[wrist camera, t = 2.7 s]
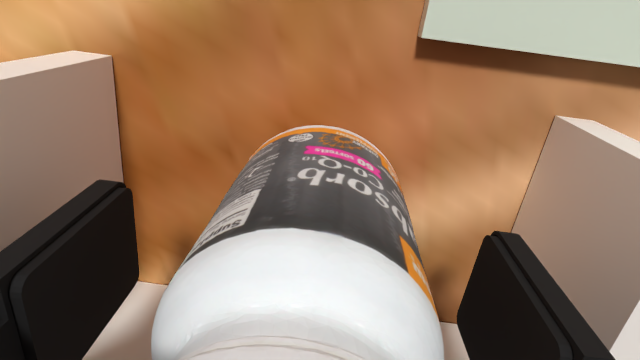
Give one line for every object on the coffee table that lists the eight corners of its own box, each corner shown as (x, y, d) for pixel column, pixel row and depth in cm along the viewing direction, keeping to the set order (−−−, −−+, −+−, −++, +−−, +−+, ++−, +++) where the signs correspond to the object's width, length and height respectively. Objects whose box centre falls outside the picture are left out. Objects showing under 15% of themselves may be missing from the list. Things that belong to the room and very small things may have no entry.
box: (495, 352, 16) (563, 505, 11) (106, 299, 16) (0, 430, 11) (593, 120, 12) (767, 200, 7) (73, 50, 12) (-114, 81, 7)
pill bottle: (433, 183, 13) (622, 550, 4) (335, 288, 16) (324, 686, 6) (297, 84, 12) (169, 303, 3) (210, 212, 14) (-15, 564, 5)
